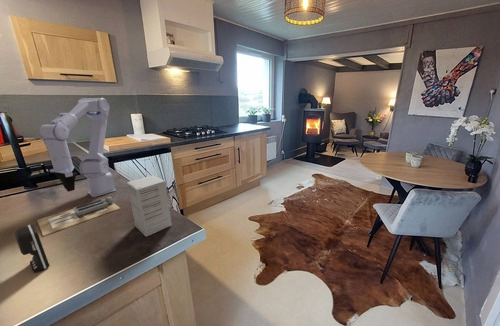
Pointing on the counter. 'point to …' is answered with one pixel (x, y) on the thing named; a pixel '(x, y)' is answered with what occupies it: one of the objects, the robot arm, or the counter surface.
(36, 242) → the battery charger
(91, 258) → the counter surface
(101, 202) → the grey slotted block
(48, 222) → the label board
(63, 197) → the counter surface
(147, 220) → the supplement box
